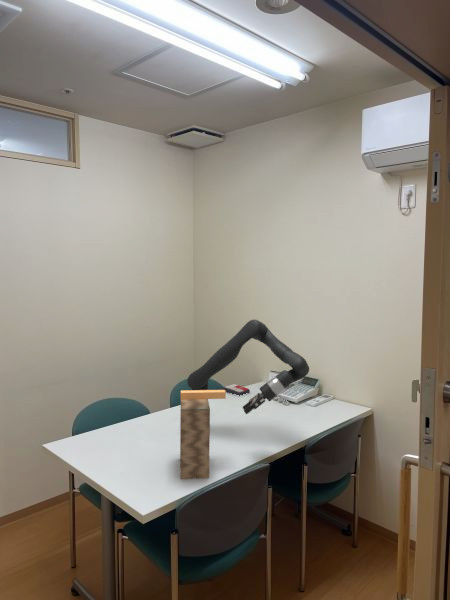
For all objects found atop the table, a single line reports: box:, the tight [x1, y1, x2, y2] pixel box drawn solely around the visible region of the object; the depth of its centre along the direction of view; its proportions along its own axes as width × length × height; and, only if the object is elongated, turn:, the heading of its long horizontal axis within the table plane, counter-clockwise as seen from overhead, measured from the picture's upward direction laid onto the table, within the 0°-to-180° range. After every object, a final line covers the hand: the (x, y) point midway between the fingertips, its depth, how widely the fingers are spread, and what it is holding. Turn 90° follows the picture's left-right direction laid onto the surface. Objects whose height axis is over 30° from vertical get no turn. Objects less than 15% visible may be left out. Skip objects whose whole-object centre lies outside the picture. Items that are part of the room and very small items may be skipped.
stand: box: [179, 398, 211, 480], centre depth 196 cm, size 12×20×30 cm, turn 6°
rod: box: [180, 389, 227, 400], centre depth 200 cm, size 20×4×3 cm, turn 96°
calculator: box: [223, 383, 251, 397], centre depth 311 cm, size 11×4×15 cm
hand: (244, 410), depth 203 cm, fingers open, 8 cm apart
